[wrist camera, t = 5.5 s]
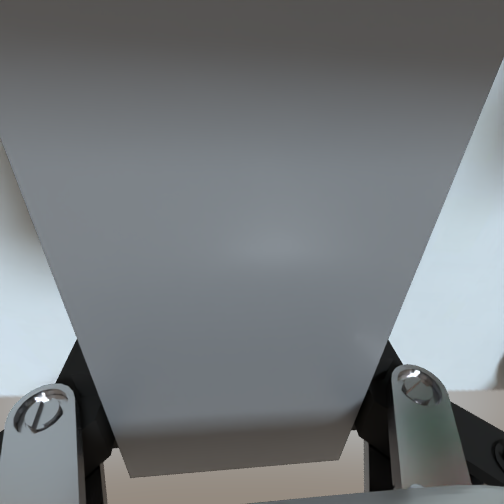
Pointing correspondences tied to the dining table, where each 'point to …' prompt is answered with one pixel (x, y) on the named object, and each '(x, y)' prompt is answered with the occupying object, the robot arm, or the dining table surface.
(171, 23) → the grey u-shaped piece
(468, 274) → the dining table surface
